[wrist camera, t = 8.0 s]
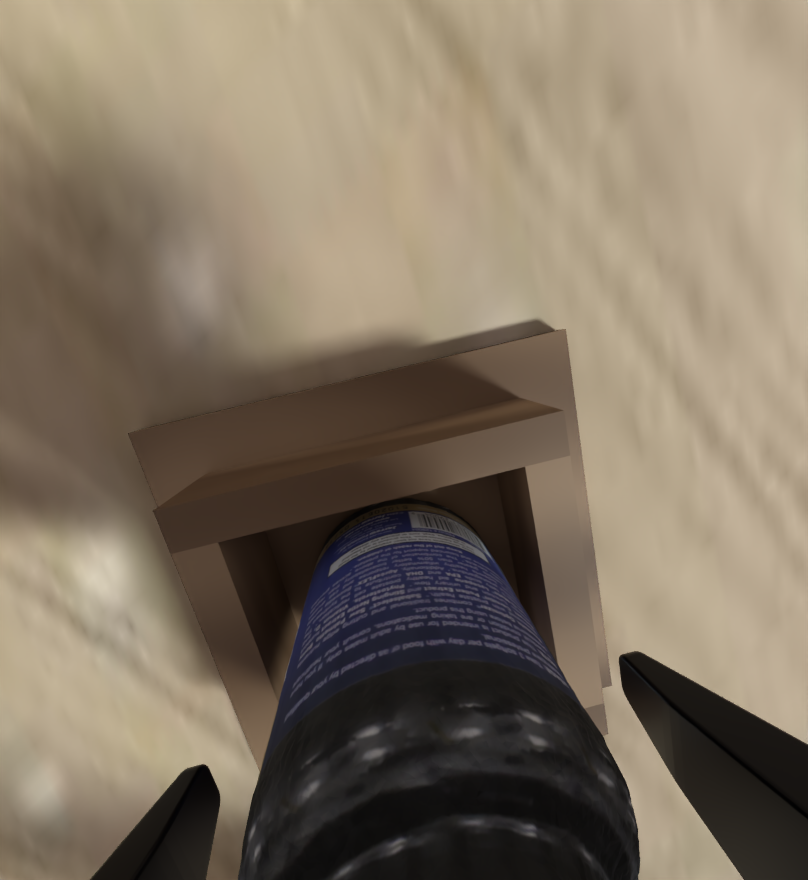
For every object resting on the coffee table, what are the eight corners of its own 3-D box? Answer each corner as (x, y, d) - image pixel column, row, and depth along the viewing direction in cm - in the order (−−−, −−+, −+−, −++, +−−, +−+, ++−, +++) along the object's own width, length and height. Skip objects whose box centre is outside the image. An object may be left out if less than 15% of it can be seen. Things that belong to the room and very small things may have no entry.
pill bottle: (279, 555, 13) (-163, 1477, 2) (430, 458, 13) (735, 992, 2) (379, 679, 14) (397, 1630, 4) (519, 593, 14) (987, 1350, 3)
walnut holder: (602, 673, 16) (667, 763, 12) (270, 760, 16) (240, 877, 12) (557, 330, 13) (626, 320, 9) (139, 429, 12) (47, 458, 9)
